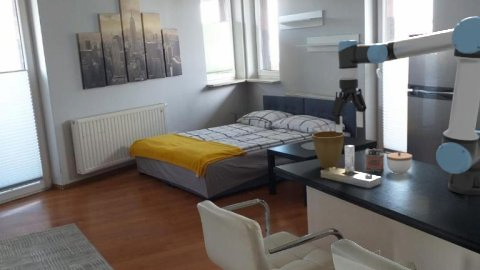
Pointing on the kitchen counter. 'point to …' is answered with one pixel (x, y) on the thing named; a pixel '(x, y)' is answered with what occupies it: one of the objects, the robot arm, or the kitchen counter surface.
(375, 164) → the lighter
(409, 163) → the lidded jar
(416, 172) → the kitchen counter surface
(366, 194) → the kitchen counter surface
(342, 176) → the frame
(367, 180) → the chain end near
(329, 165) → the plant pot
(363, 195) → the kitchen counter surface
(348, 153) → the pin
